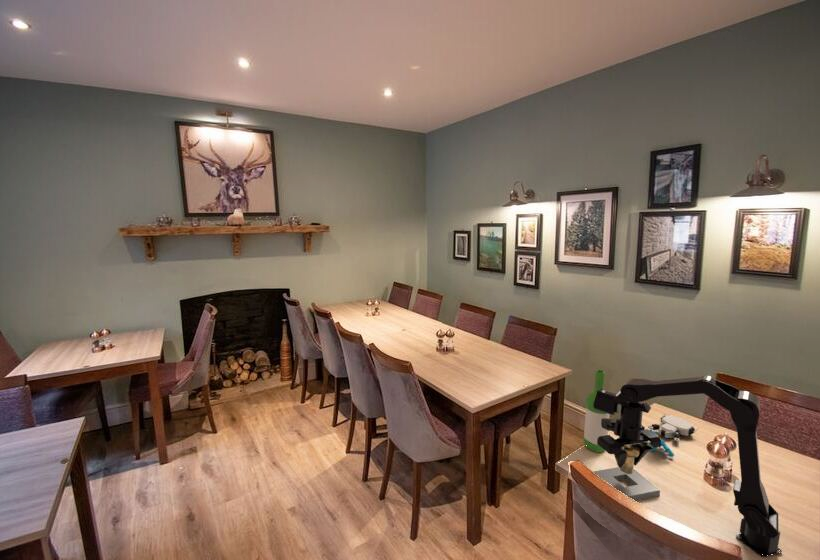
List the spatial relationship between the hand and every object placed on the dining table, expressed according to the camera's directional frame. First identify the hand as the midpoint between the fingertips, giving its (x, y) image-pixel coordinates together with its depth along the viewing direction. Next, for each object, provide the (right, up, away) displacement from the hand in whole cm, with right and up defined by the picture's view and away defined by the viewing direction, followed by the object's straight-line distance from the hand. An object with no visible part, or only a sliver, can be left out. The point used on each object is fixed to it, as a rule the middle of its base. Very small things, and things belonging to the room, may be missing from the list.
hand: (626, 465), depth 116 cm
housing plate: (0, -7, +1) cm, 7 cm away
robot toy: (+36, -3, +30) cm, 47 cm away
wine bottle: (+1, -4, +22) cm, 22 cm away
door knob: (0, -2, 0) cm, 2 cm away
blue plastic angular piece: (+23, -4, +19) cm, 30 cm away
